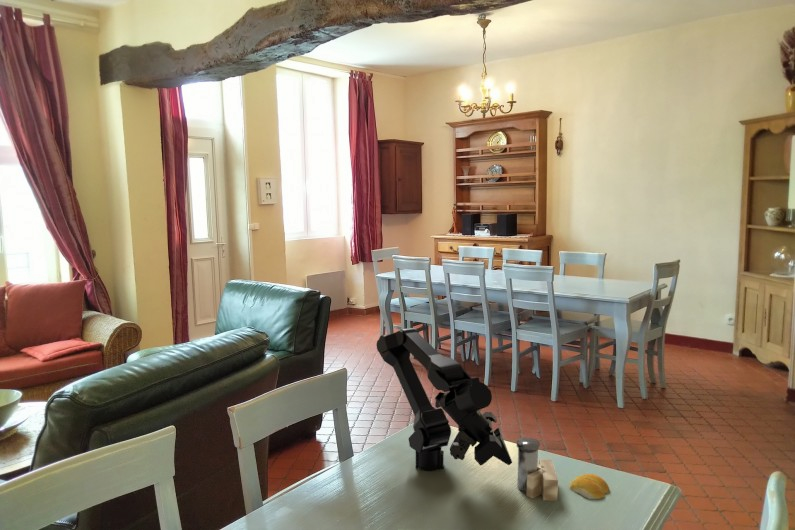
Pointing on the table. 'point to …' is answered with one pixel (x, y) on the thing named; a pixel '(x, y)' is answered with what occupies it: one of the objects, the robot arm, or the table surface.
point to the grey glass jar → (526, 460)
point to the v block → (543, 481)
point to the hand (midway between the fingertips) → (510, 463)
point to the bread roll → (589, 486)
